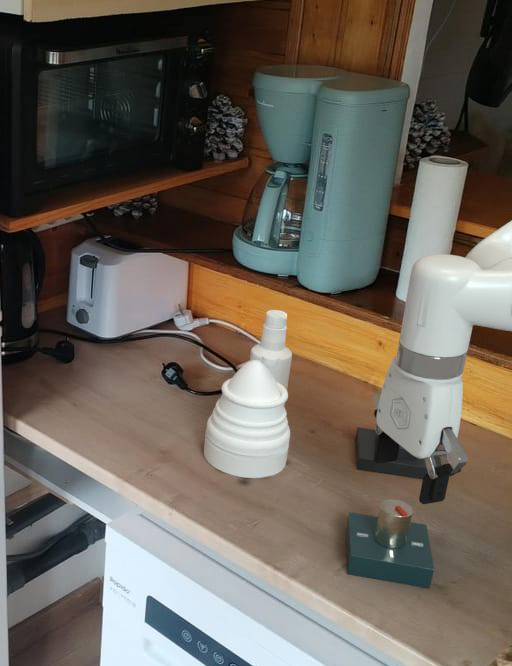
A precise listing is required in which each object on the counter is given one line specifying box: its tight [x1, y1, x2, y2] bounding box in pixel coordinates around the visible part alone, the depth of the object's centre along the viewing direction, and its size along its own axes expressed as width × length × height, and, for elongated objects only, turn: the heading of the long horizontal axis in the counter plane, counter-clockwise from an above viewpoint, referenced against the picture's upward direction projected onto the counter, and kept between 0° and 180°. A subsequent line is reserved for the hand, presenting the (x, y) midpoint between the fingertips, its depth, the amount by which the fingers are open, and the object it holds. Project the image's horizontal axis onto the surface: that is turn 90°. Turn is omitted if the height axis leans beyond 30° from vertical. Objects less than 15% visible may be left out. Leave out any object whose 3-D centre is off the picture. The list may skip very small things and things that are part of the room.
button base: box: [354, 427, 442, 480], centre depth 142 cm, size 12×10×4 cm
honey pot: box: [203, 352, 292, 479], centre depth 139 cm, size 13×13×18 cm
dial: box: [374, 498, 414, 548], centre depth 118 cm, size 4×4×5 cm
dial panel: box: [345, 512, 435, 589], centre depth 119 cm, size 10×10×3 cm
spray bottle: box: [249, 309, 293, 408], centre depth 154 cm, size 7×7×18 cm
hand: (407, 480), depth 115 cm, fingers open, 9 cm apart
